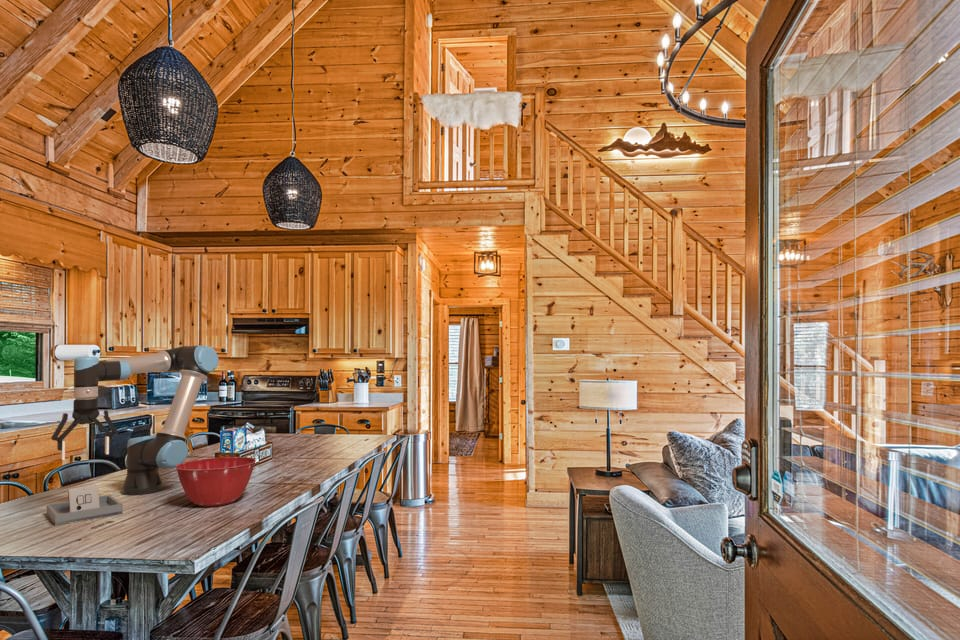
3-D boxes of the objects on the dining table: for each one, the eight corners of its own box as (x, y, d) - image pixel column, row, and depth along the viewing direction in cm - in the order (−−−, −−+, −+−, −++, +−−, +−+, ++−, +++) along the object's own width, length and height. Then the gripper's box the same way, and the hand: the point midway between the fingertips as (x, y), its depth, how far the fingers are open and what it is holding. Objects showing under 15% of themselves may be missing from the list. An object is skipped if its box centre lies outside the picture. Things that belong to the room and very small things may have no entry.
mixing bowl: (199, 493, 242) (199, 456, 243) (267, 493, 241) (267, 455, 242) (159, 512, 214) (159, 470, 215) (236, 512, 213) (236, 469, 214)
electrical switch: (70, 516, 208) (70, 489, 209) (65, 515, 212) (65, 488, 213) (100, 510, 216) (99, 484, 217) (95, 509, 219) (94, 483, 220)
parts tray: (109, 504, 228) (110, 495, 228) (122, 513, 214) (122, 504, 214) (46, 514, 214) (46, 505, 215) (55, 525, 200) (55, 515, 200)
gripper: (45, 401, 205) (44, 463, 204) (127, 396, 222) (126, 453, 221) (42, 400, 210) (41, 460, 209) (122, 395, 228) (121, 450, 227)
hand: (85, 456), depth 215 cm, fingers open, 13 cm apart
